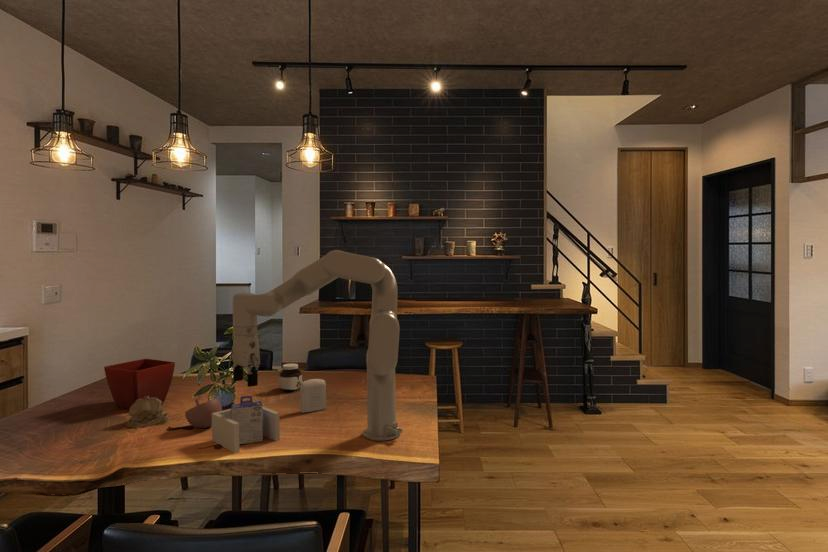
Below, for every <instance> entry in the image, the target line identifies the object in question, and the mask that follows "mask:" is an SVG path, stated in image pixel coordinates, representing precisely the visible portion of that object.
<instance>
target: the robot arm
mask: <svg viewBox="0 0 828 552" xmlns="http://www.w3.org/2000/svg"><path fill="white" fill-rule="evenodd" d="M338 278H340V279H344V280H348V281H354V282H359V283H365V284H368V285H369V284H370V286H371V290H372V295H371V296H372V297H371V312H370V313H371V314H370V319H369V334H368V335H369V336H368V348H367V351H366V358H365V359H366V385H367V387H366V399H367V400H366V403H367V404H366V405H367V408H366V410H367V413H366V414H367V415H366V416H367V420H366V421H367V424H366V425H367V428H365V429H363V431H362V436H363V438H365V439H367V440H370V441H377V442H378V441H380V442H384V441H391V440H394V439H396V438H398V437H400V436H401V433H403V429H402V428H401V427H398V424H399V423H398V422H397V420H396V367H397V363H398V359H399V358H398V357H399V345H400V344H399V343H400V331H401V330H400V329H401V328H400V323H399V319H398V296H399V295H398V293H399V292H398V283H397V279H396V276H395V275H394V273H393V272H392V270H391V268H390V267H388V266H387V265H386V264H385V263H384V262H383V261H381V260H380V259H379V258H377V257H374V256H373V257H372V256H367V255H362V254H357V253H352V252H348V251H344V250H340V249H334V250H330V251H329V252H327V253H326V254H325V255H323V256H322V257H321V258H319V259H317V260H315V261H313V262H311V263H310V264H308V265H307V266H305V267H303V268H302V269H300V270H299V271H297V272H296V273H295V274H293V276H291V277H290V278H289V279H288V280H287V281H285V282H283V283H281V284H279V285H278V286H276V287H274V288H273V289H272V290H271V289H270V291H267V292H265V293H259V294H258V293H257V294H255V293H252V292H251V293H250V292H240V293H236V294H234V295H233V297H232V337H233V341H232V342H233V343H232V353H231V355H230V356H231V357H230V358H231V363H232V377H233V378H232V380H233V382H239V381H243V380H244V368H246V369H247V372H248V373H247V387H250V388H251V387H257V386H258V385H259V383H258V381H259V380H258V379H259V378H258V377H259V375H258V374H259V370H260V365H261V359H260V358H261V357H260V344H259V338H258V317H273V316H275V315H276V314H277V313H279V312H281V311H283V309H284V310H285V308H287V307H288V306H290V305H292V304H293V303H295V302H297V301H298V300H301V299H302V298H304V297H306V296H309V295H312V294H313V293H315V292H317V291H318V290H320V289H322V288H324V286H326V285H328V284H331V283H332V282H333V281H335V280H336V279H338Z"/></svg>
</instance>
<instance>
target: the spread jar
mask: <svg viewBox="0 0 828 552" xmlns="http://www.w3.org/2000/svg"><path fill="white" fill-rule="evenodd" d="M302 382H303V373H302V371H301V370H300V369H299V364H298V363H285V364H283V365H282V369H281V371H280V372H279V376H278V387H279V389H280V390H281V391H282V392H283V391H284V392H283V393H295V392H294V391H296V392H298V391H299V390H300V385H301V383H302ZM297 390H298V391H297Z"/></svg>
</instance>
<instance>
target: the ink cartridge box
mask: <svg viewBox="0 0 828 552" xmlns="http://www.w3.org/2000/svg"><path fill="white" fill-rule="evenodd" d="M245 399H249V400H245ZM262 406H263V403H262V401H261V400H259V401H258V400H257V401H253V395H247V396H246V395H244V396H243V395H242V396H240V403H234V404H231V405H230V409H231V420H233V421H235V422H238V423H239V445H243V444H244V445H245V444H250V443H251V444H252V443H260V442H263V441H264V439H263V438H264V435H263V410H262Z"/></svg>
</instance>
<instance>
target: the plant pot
mask: <svg viewBox="0 0 828 552" xmlns="http://www.w3.org/2000/svg"><path fill="white" fill-rule="evenodd" d="M175 365H176V362H175V361H167V360H160V359H153V358H151V359H150V358H141V359H136V360H131V361H126V362H121V363H117V364H112V365H111V364H110V365H105V366H104V367H103V371H104V374H105V379H106V382H107V385H108V387H109V391H110V394H111V396H112V398H113V401H114V402H115V405H116V407H119V408H124V409H128V408H129V409H128V410H130V407H131V406H132V405H133V404H134V403H135V402H136V400H137V399H142V398H143V399H144V398H145V396H149V398H152V397H155V398H157V399H159V400H161V401H162V403H164V402H165V400H166V399H167V395H168V392H169V390H170V387H171V383H172V381H173V377H174V372H175Z"/></svg>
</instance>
